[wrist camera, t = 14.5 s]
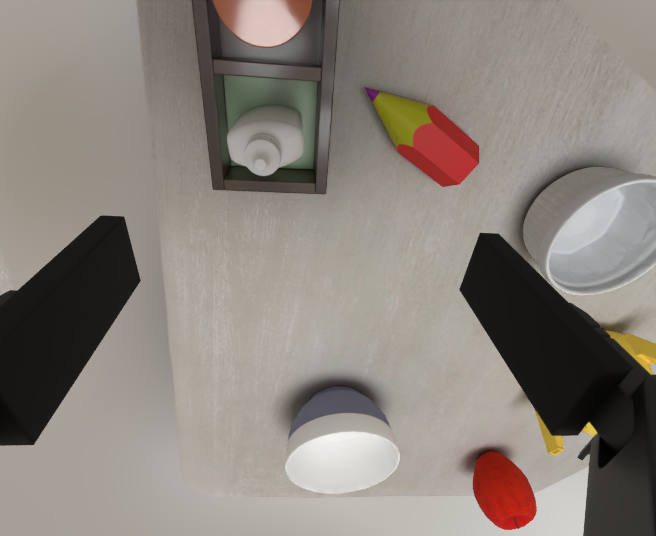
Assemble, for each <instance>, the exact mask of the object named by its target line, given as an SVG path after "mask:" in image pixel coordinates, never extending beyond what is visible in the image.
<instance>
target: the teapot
mask: <svg viewBox="0 0 656 536" xmlns="http://www.w3.org/2000/svg"><path fill="white" fill-rule="evenodd" d="M605 331H606V332H607V333H608V334H609V335H610V338H614V339H615V340H616V341H617V342H618V343H619V344H620V345H621V346H622V347H623V348H624V349H625V350H626V351H627V352H628V353H629V354H630V355H631V356H632V357H633V358H634V359H635V360H636V361H637V362H639V363H640V364H641V365H642V366H643V367H644V368H645V369H646V370H647V371H648V372H649V373H650V374H651V375H653V374H652V371H651V368H650V366H649V364H651V363H654V364H656V344H655V343H652V342H649V341H647V340H644V339H642V338H639V337H636V336H634V335H631V334H629V333H628V334H626V335H622V334H620V333H617V332H613V331H608V330H605ZM534 409H535V408H534ZM535 412H536V410H535ZM536 415H537V418H538V422H539V425H540V428H541V431H542V435H543V438H544V441H545V444H546V448H547V451H548V453H549V454H552V455H557V454H558V453H560V452H562V451H563V450H564V449H563V437H562V436H552V435H551V434H550V432H549V431H548V429H547V427H546V426H545V424H544V423H543V421H542V419H541V418H540V416H539V415H538V413H537V412H536ZM582 431H583V432H586V433H588V434H591V435H594V436H595V435H596V434H597V432H596V430H595V429H594V428H593V426H592V425H591V424H590V422H588V423H587V425H586V426H585V427H584V428H583V429H582Z"/></svg>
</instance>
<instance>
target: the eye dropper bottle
mask: <svg viewBox="0 0 656 536" xmlns="http://www.w3.org/2000/svg"><path fill="white" fill-rule="evenodd" d="M227 144H228V149H229V154H230V157H231V159H232V160H233V161H234V162H236V163H238V164H240V165H243V166H246V167H247V168H248V169H249V170H250V171H251V172H252V173H254V174H256V175H259V176H268V175H271V174H273V173H274V172H275V171H276V170H277V169H278V168H279V167H282V166H285V165H288V164H290V163H292V162H294V161H296V160H298V159H299V158H300V157H301V156H302V155H303V153H304V136H303V124H302V116H301V114H300V112H298V111H297V110H295V109H292V108H289V107H285V106H280V105H265V106H260V107H256V108H253V109H251V110H248V111H246V112H245V113H243V114H242V115H240V117H239V118H238V119H237V121H236V122H235V124H234V125H233V126H232V128H231V129H230V131H229V132H228V134H227Z"/></svg>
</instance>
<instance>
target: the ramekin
mask: <svg viewBox="0 0 656 536" xmlns="http://www.w3.org/2000/svg"><path fill="white" fill-rule="evenodd" d="M523 239H524V243H525V246H526V248H527V250H528V252H529V253H530V255H531V256H532V257H533V259H534V260H535V261H536V263H537V264H538V265H539V267H540V270H541V272H542V274H543V275H544V277H545V278H546V279H547V280H548V281H549V282H550V283H551V284H552V285H553V286H554V287H556V288H557V289H558V290H560V291H562V292H564V293H568V294H571V295H579V296H589V295H597V294H602V293H606V292H609V291H612V290H615V289H618V288H620V287H623V286H624V285H627V284H629V283H630V282H632V281H634V280H636V279H637V278H639V277H641V276H642V275H644V274H645V273H646V272H648V271H649V270H650V269H652V268H653V267H654V266H655V265H656V177H655V176H652V175H646V174H635V173H631V172H627V171H623V170H619V169H614V168H606V167H590V168H584V169H581V170H576V171H574V172H572V173H569V174H567V175H565V176H563V177H561V178H559V179H558V180H556V181H555V182H553V183H552V184H550V185H549V186H548V187H547V188H545V189H544V190H543V191H542V192H541V193H540V195H539V196H538V197H537V198H536V199H535V200H534V202H533V203H532V205H531V207H530V208H529V210H528V213H527V215H526V218H525V220H524V225H523Z"/></svg>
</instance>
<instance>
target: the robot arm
mask: <svg viewBox="0 0 656 536" xmlns="http://www.w3.org/2000/svg"><path fill="white" fill-rule="evenodd" d="M139 282H140V277H139V273H138V269H137V265H136V261H135V258H134V254H133V250H132V245H131V242H130V238H129V234H128V230H127V226H126V222H125V218H124V217H121V216H100V217H99V218H98V219H97V220H95V221H94V222H93V223H92V224H91V225H90V226H89V227H88V228H87V229H85V230H84V231H83V232H82V233H81V234H80V235H79V236H78V237H77V238H75V239H74V240H73V241H72V242H71V243H70V244H69V245H68V246H67V247H65V248H64V249H63V250H62V251H61V252H60V253H59V254H58V255H57V256H55V257H54V258H53V259H52V260H51V261H50V262H49V263H48V264H47V265H45V266H44V267H43V268H42V269H41V270H40V271H39V272H38V273H37V274H36V275H34V276H33V277H32V278H31V279H30V280H29V281H28V282H27V283H25V285H23V286H22V287H21V288H20V289H19V290H18V291H13V290H10V291H8V292H6V293H4V294H2V295H0V445H34V443H35V442H36V440H37V439H38V437H39V436H40V434H41V432H42V431H43V430H44V428H45V426H46V425H47V423H48V422H49V420H50V419H51V417H52V416H53V414H54V413H55V411H56V410H57V408H58V406H59V405H60V403H61V402H62V400H63V399H64V397H65V396H66V394H67V393H68V391H69V390H70V388H71V387H72V385H73V384H74V382H75V381H76V379H77V377H78V376H79V374H80V373H81V371H82V370H83V368H84V367H85V365H86V364H87V362H88V361H89V359H90V358H91V356H92V354H93V353H94V351H95V350H96V348H97V347H98V345H99V343H100V342H101V341H102V339H103V337H104V336H105V334H106V333H107V331H108V330H109V328H110V327H111V325H112V324H113V322H114V321H115V319H116V318H117V316H118V315H119V313H120V311H121V310H122V308H123V307H124V305H125V304H126V302H127V300H128V299H129V298H130V296H131V295H132V293H133V292H134V290H135V288H136V287H137V285H138V284H139ZM460 291H461V293H462V294H463V296H464V298H465V299H466V301H467V302H468V304H469V306H470V307H471V309H472V310H473V312H474V313H475V315H476V317H477V318H478V320H479V321H480V323H481V325H482V326H483V328H484V329H485V331H486V332H487V334H488V336H489V337H490V339H491V340H492V342H493V344H494V345H495V347H496V348H497V350H498V351H499V353H500V355H501V356H502V358H503V359H504V361H505V362H506V364H507V366H508V367H509V369H510V370H511V372H512V374H513V375H514V377H515V378H516V380H517V381H518V383H519V385H520V386H521V388H522V389H523V391H524V393H525V394H526V396H527V397H528V399H529V400H530V402H531V404H532V405H533V407H534V408H535V410H536V412H537V413H538V415H539V416H540V418H541V419H542V421H543V423H544V424H545V426H546V427H547V429H548V431H549V432H550V434H551V435H552V436H569V435H578V434H579V433H580V432H581V431H582V429H583V428H584V427H585V426H586V425H587V423H588V422H590V424H591V425H592V426H593V428H594V429H595V430H596V432H597V434H596V435H595V436H594V437H593V438H592V439H591V440H590V442H589V443H588V444H587V445H586V446H585V447H584V448H583V450H582V451H581V452H580V454H579V456H578V458H579V459H581V460H583V459H584V458H585V457H586V455H588V454H590V462H589V475H588V487H587V498H586V510H585V522H584V535H583V536H656V375H651V374H650V373H649V372H648V371H647V370H646V369H645V368H644V367H643V366H642V365H641V364H640V363H639V362H637V361H636V360H635V359H634V358H633V357H632V356H631V355H630V354H629V353H628V352H627V351H626V350H625V349H624V348H623V347H622V346H621V345H620V344H619V343H618V342H617V341H616V340H615V339H614V338H610V335H609V334H608V333H607V332H606V331H605V330H604V329H603V328H600V325H599V324H598V323H597V322H596V321H595V320H594V319H593V318H592V317H591V316H590V315H589V314H587V313H586V312H584V311H583V310H581V309H580V308H578V307H576V306H575V305H573V304H572V303H568V302H567V301H566V300H565V299H564V298H563V297H562V296H561V295H560V294H559V293H558V292H557V291H556V290H555V289H554V288H553V287H552V286H551V285H550V284H549V283H548V282H547V281H546V280H545V279H544V278H543V277H542V276H541V275H540V274H539V273H538V272H537V271H536V270H535V269H534V268H533V267H532V266H531V265H530V264H529V263H528V262H527V261H526V260H525V259H524V258H523V257H522V256H521V255H520V254H519V253H518V252H516V251H515V250H514V249H513V248H512V247H511V246H510V245H509V244H508V243H507V242H506V241H505V240H504V239H503V238H502V237H501V236H500V235H499V234H492V233H480V234H479V237H478V240H477V243H476V245H475V248H474V251H473V254H472V256H471V259H470V262H469V265H468V267H467V270H466V273H465V276H464V279H463V281H462V284H461V287H460Z"/></svg>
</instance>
